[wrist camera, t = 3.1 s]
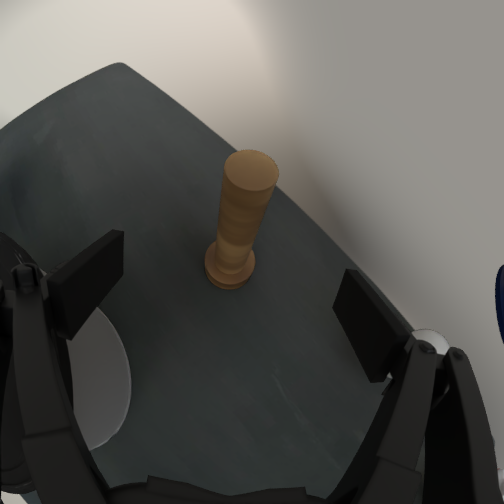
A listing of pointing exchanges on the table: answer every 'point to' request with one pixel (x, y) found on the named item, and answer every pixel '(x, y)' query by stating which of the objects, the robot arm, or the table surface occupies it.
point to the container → (67, 382)
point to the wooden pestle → (240, 217)
